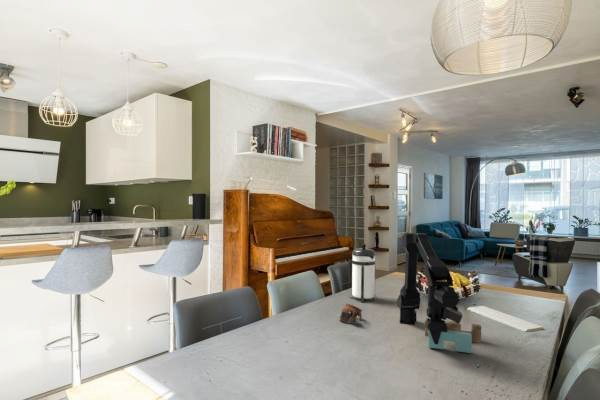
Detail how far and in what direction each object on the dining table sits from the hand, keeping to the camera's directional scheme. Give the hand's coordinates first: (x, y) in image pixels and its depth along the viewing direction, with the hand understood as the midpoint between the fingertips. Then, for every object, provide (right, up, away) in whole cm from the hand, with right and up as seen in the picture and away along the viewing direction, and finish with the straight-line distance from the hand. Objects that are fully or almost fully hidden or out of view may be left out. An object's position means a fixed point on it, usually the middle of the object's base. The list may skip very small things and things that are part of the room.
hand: (436, 342), depth 126 cm
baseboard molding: (+43, -4, +34) cm, 55 cm away
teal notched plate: (+4, -2, -1) cm, 5 cm away
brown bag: (-27, -2, +28) cm, 39 cm away
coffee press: (-16, -3, +64) cm, 66 cm away
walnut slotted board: (+10, -2, +10) cm, 15 cm away
